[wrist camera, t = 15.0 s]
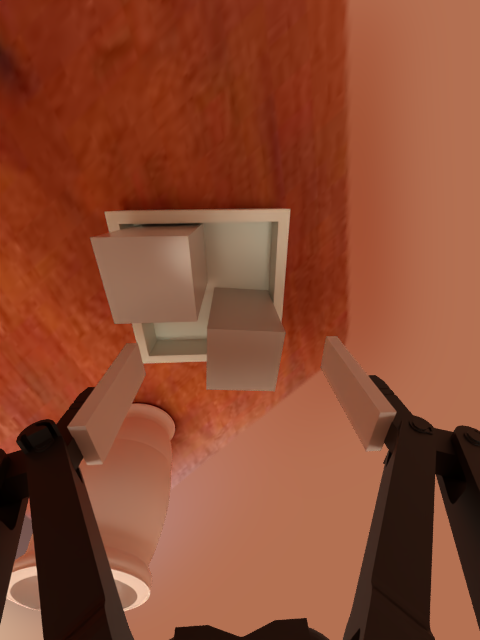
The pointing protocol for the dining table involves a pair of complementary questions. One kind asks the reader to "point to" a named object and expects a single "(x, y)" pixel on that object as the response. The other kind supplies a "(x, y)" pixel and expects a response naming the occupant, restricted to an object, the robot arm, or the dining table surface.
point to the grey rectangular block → (243, 340)
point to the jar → (121, 507)
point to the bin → (215, 269)
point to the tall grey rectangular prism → (153, 272)
